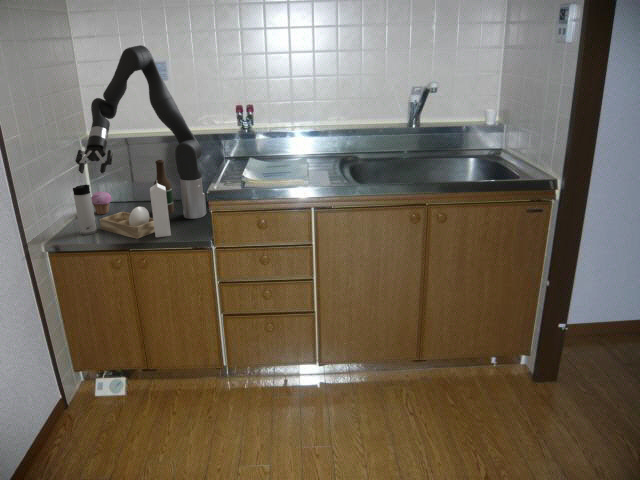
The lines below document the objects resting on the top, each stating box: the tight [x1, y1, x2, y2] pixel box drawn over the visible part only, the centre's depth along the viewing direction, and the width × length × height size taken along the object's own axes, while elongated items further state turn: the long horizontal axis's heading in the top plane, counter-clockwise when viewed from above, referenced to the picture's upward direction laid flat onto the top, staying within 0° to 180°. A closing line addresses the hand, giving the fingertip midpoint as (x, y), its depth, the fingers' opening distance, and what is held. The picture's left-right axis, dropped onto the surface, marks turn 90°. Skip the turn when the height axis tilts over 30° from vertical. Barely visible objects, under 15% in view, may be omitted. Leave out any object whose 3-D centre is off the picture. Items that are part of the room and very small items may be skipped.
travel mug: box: [72, 184, 98, 236], centre depth 220 cm, size 6×7×20 cm
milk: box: [149, 183, 172, 238], centre depth 216 cm, size 6×6×22 cm
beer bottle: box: [153, 159, 175, 215], centre depth 243 cm, size 8×8×24 cm
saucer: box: [129, 206, 150, 227], centre depth 221 cm, size 10×1×10 cm, turn 148°
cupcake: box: [91, 191, 112, 215], centre depth 246 cm, size 9×9×10 cm
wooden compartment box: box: [98, 211, 155, 240], centre depth 225 cm, size 12×22×4 cm, turn 58°
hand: (91, 172), depth 226 cm, fingers open, 8 cm apart
